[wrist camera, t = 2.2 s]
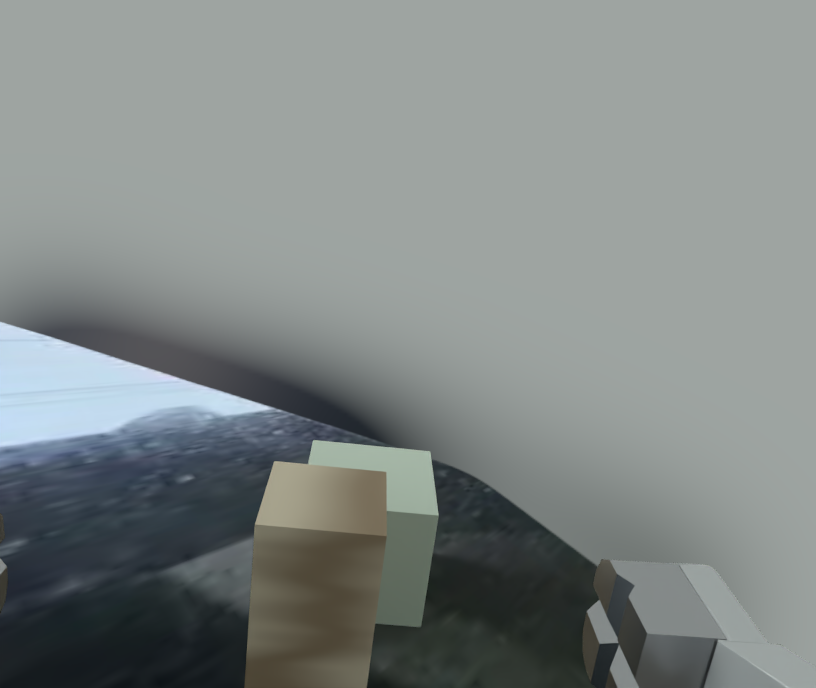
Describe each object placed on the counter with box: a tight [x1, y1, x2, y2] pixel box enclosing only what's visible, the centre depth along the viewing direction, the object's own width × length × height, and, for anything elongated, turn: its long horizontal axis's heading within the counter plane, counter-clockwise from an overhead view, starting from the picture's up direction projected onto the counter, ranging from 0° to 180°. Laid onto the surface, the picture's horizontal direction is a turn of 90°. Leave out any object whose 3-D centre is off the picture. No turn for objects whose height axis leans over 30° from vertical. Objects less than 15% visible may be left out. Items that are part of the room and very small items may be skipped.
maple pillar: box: [245, 461, 387, 688], centre depth 25 cm, size 4×4×10 cm
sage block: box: [308, 440, 439, 627], centre depth 34 cm, size 6×6×6 cm
